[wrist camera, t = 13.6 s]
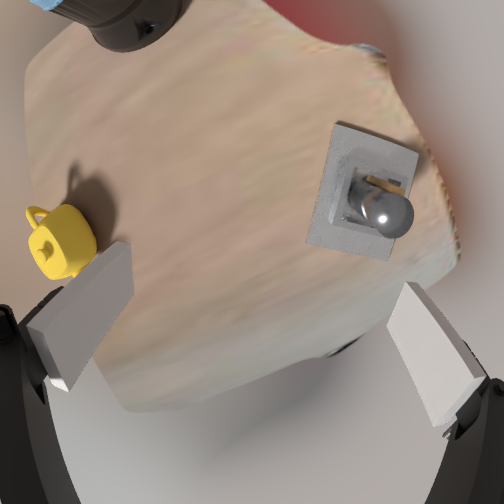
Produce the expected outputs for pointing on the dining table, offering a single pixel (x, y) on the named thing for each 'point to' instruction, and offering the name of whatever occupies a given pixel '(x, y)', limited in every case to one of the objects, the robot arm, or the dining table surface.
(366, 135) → the collar
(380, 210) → the grey rounded cylinder
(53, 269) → the teapot
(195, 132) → the dining table surface
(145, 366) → the dining table surface
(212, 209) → the dining table surface
